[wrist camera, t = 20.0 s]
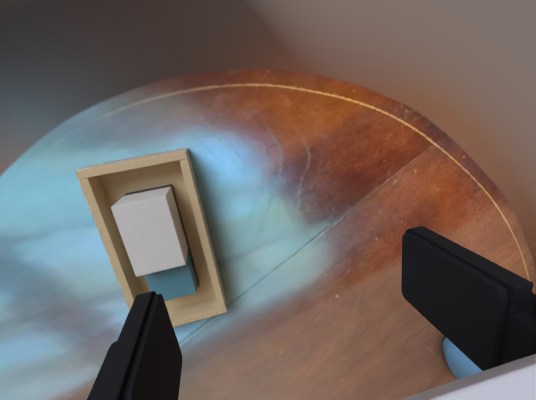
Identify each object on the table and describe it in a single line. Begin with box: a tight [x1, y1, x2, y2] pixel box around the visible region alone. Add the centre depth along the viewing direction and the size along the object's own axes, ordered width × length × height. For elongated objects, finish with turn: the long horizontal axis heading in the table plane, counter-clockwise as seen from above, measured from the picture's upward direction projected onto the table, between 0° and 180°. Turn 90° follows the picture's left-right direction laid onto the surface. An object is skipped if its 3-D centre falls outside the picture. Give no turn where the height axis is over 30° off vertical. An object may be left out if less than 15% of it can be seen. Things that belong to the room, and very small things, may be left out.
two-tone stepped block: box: [111, 184, 200, 301], centre depth 27 cm, size 12×5×5 cm, turn 9°
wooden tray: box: [75, 148, 227, 327], centre depth 29 cm, size 19×10×3 cm, turn 9°
